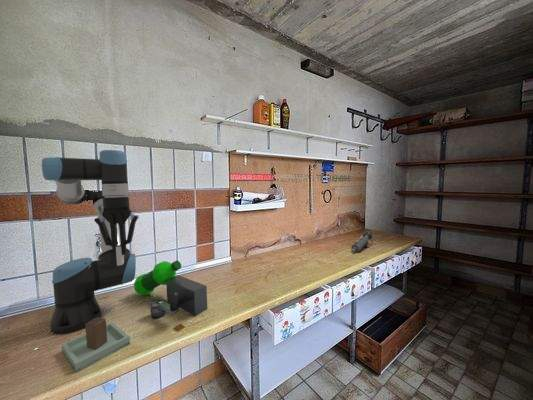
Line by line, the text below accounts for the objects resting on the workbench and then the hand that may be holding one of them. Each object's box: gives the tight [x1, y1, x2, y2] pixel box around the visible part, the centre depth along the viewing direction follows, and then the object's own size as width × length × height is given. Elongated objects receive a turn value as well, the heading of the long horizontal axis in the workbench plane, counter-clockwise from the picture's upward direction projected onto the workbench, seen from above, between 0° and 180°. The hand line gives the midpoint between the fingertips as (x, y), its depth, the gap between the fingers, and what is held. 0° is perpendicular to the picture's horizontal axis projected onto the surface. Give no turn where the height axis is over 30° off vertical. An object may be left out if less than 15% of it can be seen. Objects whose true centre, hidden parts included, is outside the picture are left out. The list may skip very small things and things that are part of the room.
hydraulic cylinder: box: [351, 231, 375, 253], centre depth 177 cm, size 7×37×10 cm, turn 138°
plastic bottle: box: [133, 260, 182, 296], centre depth 107 cm, size 10×10×25 cm
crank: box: [149, 291, 180, 315], centre depth 88 cm, size 15×5×7 cm, turn 57°
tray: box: [61, 321, 131, 373], centre depth 73 cm, size 14×14×2 cm
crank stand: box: [150, 275, 208, 332], centre depth 93 cm, size 23×16×10 cm
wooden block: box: [84, 317, 107, 349], centre depth 74 cm, size 4×4×8 cm
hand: (120, 264), depth 80 cm, fingers closed
